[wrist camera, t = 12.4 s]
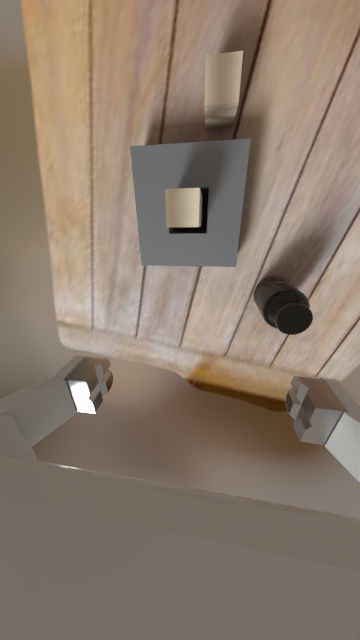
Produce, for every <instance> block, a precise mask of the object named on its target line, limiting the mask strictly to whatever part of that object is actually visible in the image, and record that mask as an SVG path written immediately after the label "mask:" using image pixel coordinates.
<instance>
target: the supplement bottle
mask: <svg viewBox="0 0 360 640" xmlns="http://www.w3.org/2000/svg"><path fill="white" fill-rule="evenodd" d="M254 300H255V303H256V305H257V307H258V308H259V310H260V312H261V314H262V316H263V318H264V320H265V321H266V322H267V323H268V324H269V325H270V326H272V327H274V328H277V329H279V330H280V331H281V332H282V333H285V334H289V335H290V334H291V335H293V334H299V333H301V332H303V331H305V330H306V329H307V328H308V327H309V326H310V325H311V323H312V320H313V319H312V317H313V316H312V313H311V310H310V309H309V308H310V305H309V301H308V299H307V297H306V296H305V295H304V294H303V293H302V292H301V291H299V290H298V289H297V288H295V287H294V286H293V285H292V284H290V283H289V282H288V281H286V280H285V279H283V278H279V277H271V278H268V279H265V280H264V281H262V282H261V283H260V284H259V285H258V286H257V288H256V289H255V292H254Z"/></svg>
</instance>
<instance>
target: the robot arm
mask: <svg viewBox="0 0 360 640" xmlns="http://www.w3.org/2000/svg"><path fill="white" fill-rule="evenodd" d="M109 367H110V362H109V359H107V358H100V357H91V356H81V355H77V356H74V357H73V358H72V359H71V360H70V361H69V362H68V363H67V364H66V365H65V366H64V367H63V368H62V369H61V370H60V371H58V372H57V373H56V374H55V375H54V376H53V377H52V378H51V379H48V378H47V379H46V380H43V381H41V382H39V383H36V384H34V385H32V386H30V387H28V388H25V389H23V390H21V391H19V392H17V393H15V394H12V395H10V396H8V397H5V398H3V399H1V400H0V640H360V518H359V517H353V516H347V515H341V514H336V513H330V512H325V511H318V510H313V509H307V508H302V507H296V506H291V505H284V504H279V503H273V502H268V501H262V500H257V499H251V498H245V497H240V496H234V495H228V494H223V493H217V492H211V491H206V490H200V489H194V488H189V487H183V486H177V485H171V484H165V483H160V482H154V481H148V480H143V479H137V478H131V477H126V476H120V475H114V474H109V473H103V472H97V471H91V470H86V469H80V468H74V467H69V466H63V465H57V464H51V463H45V462H40V461H35V460H36V455H35V454H34V452H33V450H32V449H31V447H32V446H34V445H35V444H36V443H37V442H39V441H40V440H41V439H43V438H44V437H45V436H47V435H48V434H49V433H51V432H52V431H53V430H55V429H56V428H57V427H59V426H60V425H61V424H63V423H64V422H65V421H66V420H68V419H69V418H71V417H72V416H73V415H75V414H76V413H77V412H86V413H96V412H97V410H98V408H99V407H100V405H101V404H102V401H103V398H102V396H104V395H105V394H107V393H108V392H109V390H110V388H111V386H112V382H113V375H112V372H111V371H110V370H109V369H108V368H109ZM291 385H292V389H290V390H289V391H288V392H287V395H286V406H287V410H288V412H289V415H290V416H292V417H293V418H294V419H295V422H294V427H295V429H296V432H297V434H298V437H299V439H300V441H302V442H309V443H315V444H321V445H325V447H326V448H327V449H328V450H329V451H330V452H331V453H332V454H333V455H334V456H335V457H336V458H337V459H338V460H339V461H340V462H341V464H342V465H343V466H344V467H345V468H346V469H347V470H348V471H349V472H350V473H351V474H352V475H353V476H354V477H355V478H356V479H357V480H358V481H359V482H360V407H359V406H358V405H357V403H356V402H355V401H354V400H353V398H352V397H351V396H350V395H349V393H348V392H347V391H346V390H345V389H344V387H343V386H342V385H341V384H340V382H339V381H337V380H335V379H324V378H321V379H320V378H309V377H298V376H294V377H293V378H292V380H291Z"/></svg>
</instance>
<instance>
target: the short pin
mask: <svg viewBox="0 0 360 640" xmlns="http://www.w3.org/2000/svg"><path fill="white" fill-rule="evenodd" d="M242 60H243V51H236V52H228V53H220V54H212V55H206V67H205V98H204V111H205V128H210V127H223V126H233V124H234V120H235V116H236V112H237V107H238V103H239V93H240V82H241V71H242Z"/></svg>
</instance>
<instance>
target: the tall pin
mask: <svg viewBox="0 0 360 640" xmlns="http://www.w3.org/2000/svg"><path fill="white" fill-rule="evenodd" d="M165 200H166V225H167V227H201V226H202V217H203V197H202V194H201V190H200V188H178V189H165Z"/></svg>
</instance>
